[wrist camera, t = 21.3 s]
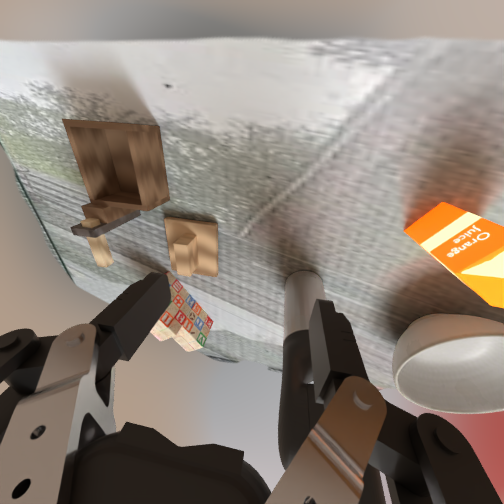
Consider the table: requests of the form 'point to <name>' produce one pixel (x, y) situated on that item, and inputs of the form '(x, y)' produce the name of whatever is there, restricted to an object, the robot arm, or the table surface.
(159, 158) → the brown wooden box
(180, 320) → the stack of blocks
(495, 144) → the table surface
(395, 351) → the decorative bowl
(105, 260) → the light wooden plank
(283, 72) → the table surface
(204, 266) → the lid
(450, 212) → the orange juice
